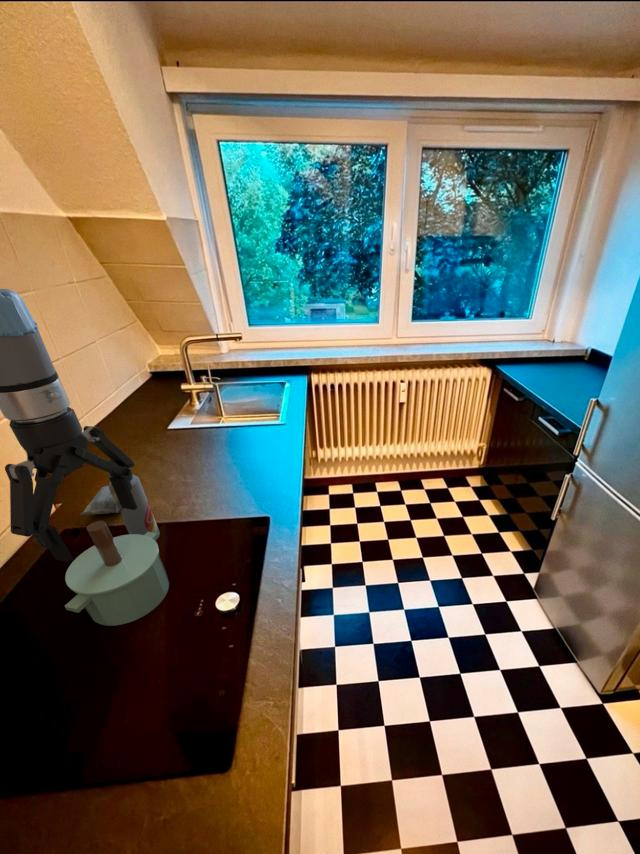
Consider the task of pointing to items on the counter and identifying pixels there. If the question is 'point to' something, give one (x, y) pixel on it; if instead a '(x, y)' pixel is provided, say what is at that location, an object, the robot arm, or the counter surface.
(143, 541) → the lid
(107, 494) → the packaged food
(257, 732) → the counter surface
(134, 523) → the lotion bottle
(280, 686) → the counter surface
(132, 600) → the pot
